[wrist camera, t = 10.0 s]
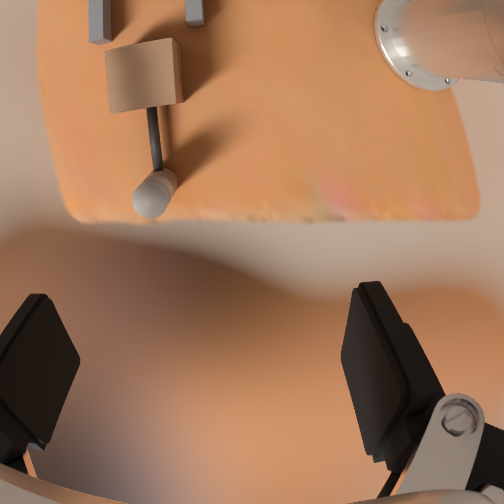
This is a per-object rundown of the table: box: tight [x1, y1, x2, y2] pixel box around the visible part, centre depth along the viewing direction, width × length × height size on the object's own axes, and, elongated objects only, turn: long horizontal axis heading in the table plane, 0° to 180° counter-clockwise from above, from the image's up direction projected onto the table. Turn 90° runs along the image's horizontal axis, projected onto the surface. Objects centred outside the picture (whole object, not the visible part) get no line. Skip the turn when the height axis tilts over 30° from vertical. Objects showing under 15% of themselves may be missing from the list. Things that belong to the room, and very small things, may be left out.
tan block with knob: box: [105, 38, 184, 218], centre depth 26 cm, size 6×16×6 cm, turn 3°
